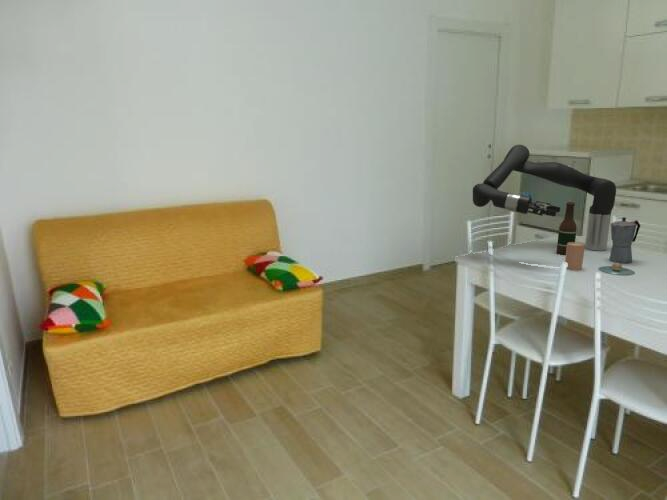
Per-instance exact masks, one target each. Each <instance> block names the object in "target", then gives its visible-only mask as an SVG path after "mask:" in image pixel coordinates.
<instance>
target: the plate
mask: <svg viewBox="0 0 667 500" xmlns="http://www.w3.org/2000/svg"><path fill="white" fill-rule="evenodd" d="M598 271H600V272H602V273H603V274H607V275H613V276H619V277H620V276H621V277H622V276H624V277H629V276H633V275H636V272H635V271H634V270H632V269H630V268H625V267H622V268H621V270H619V271H615V270H613V268H612V265H610V266H609V265H607V266H606V265H604V266H600V267H598Z"/></svg>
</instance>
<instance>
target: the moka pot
mask: <svg viewBox="0 0 667 500" xmlns="http://www.w3.org/2000/svg"><path fill="white" fill-rule="evenodd" d="M640 228H641V224H640V222H639V221H638V220H632V221H631V220H630V221H627V218H626V217H624V216H623V217H621V220H619V221H613V222H610V233H611V234H610V235H611V241H612V245H611V251H610V255H609V259H608V260H609V261H610V262H611V263H620V264H621V265H622V264H626V265H628V264H633V252H632V243H634V242H636V240H637V237H638V234H639V231H640Z"/></svg>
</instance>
